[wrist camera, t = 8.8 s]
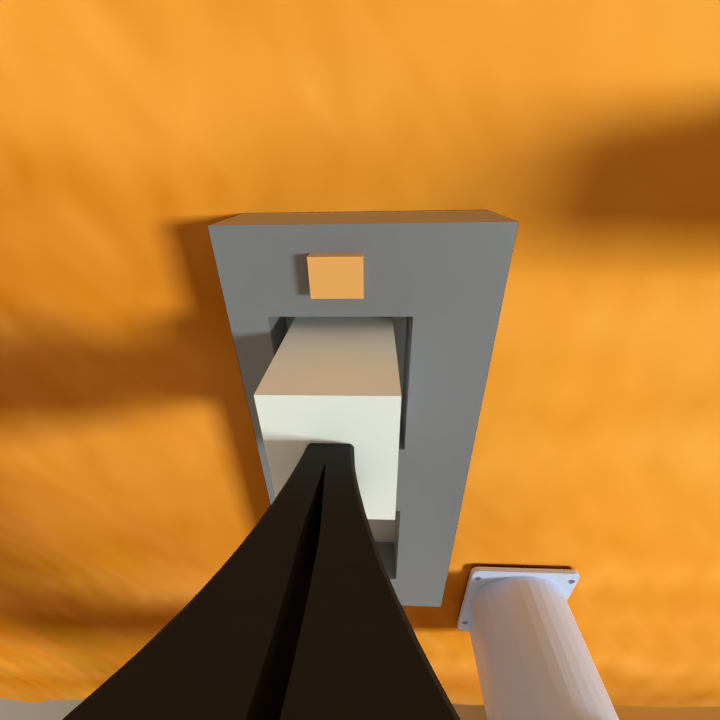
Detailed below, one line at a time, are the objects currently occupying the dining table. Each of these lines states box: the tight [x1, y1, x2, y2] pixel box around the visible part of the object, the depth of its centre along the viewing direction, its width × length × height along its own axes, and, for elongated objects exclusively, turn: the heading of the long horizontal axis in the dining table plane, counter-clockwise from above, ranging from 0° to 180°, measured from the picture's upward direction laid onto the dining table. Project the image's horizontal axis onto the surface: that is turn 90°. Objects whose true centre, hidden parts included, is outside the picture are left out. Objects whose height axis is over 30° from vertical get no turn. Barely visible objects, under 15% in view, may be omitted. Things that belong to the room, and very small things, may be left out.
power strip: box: [208, 210, 518, 607], centre depth 18 cm, size 24×10×4 cm, turn 1°
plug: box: [254, 317, 401, 520], centre depth 13 cm, size 5×4×7 cm
